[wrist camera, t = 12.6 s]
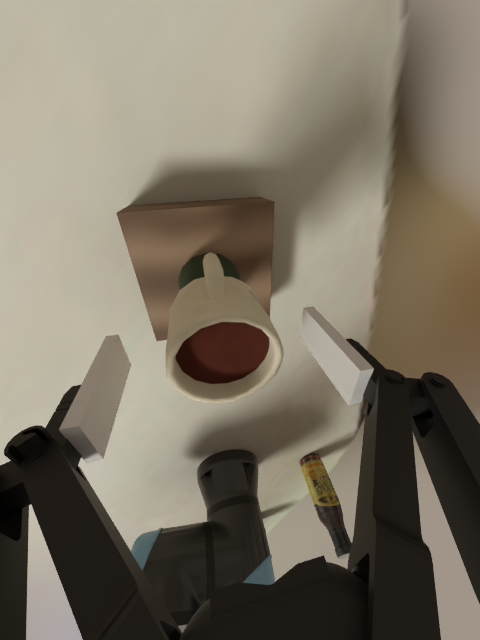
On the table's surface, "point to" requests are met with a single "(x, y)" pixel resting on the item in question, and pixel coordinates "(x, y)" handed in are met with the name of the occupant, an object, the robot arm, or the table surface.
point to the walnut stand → (197, 246)
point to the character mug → (219, 334)
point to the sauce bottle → (326, 503)
